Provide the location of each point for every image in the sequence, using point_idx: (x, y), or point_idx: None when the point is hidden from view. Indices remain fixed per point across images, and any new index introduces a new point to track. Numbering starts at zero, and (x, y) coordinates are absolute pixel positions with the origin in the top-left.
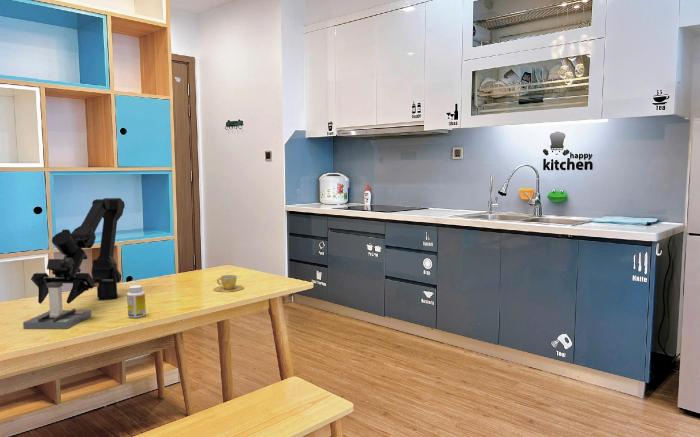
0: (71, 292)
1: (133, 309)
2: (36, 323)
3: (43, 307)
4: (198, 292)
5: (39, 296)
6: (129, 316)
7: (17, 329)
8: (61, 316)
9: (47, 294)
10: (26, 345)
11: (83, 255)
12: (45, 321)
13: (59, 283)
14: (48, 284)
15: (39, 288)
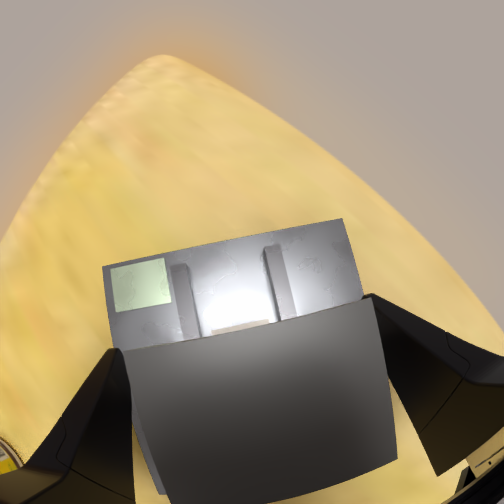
0: (75, 415)
1: None
2: (270, 232)
3: None
4: None
5: (403, 316)
6: (5, 444)
7: (348, 215)
8: (181, 327)
9: (410, 419)
10: (144, 91)
11: None
12: (235, 258)
13: (145, 424)
14: (326, 311)
15: (474, 352)
